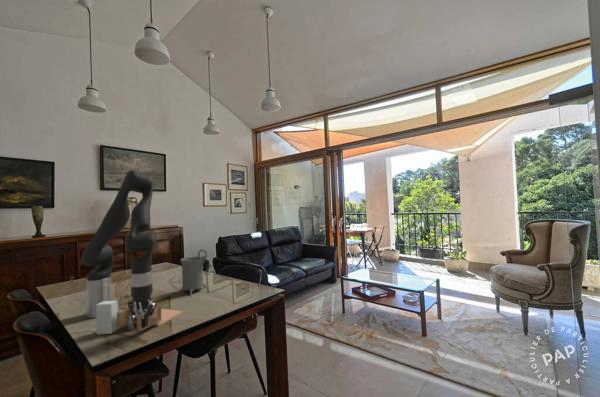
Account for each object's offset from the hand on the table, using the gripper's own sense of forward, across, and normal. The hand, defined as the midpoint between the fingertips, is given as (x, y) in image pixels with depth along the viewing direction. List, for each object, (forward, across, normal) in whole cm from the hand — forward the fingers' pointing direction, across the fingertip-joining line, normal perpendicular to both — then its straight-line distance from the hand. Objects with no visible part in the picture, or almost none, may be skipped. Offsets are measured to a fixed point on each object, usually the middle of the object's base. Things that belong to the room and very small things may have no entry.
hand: (142, 326), depth 106 cm
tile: (+3, +6, -14) cm, 16 cm away
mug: (+3, +17, -50) cm, 53 cm away
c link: (+1, +6, -3) cm, 7 cm away
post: (+3, +8, -2) cm, 8 cm away
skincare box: (+3, +16, +3) cm, 16 cm away
